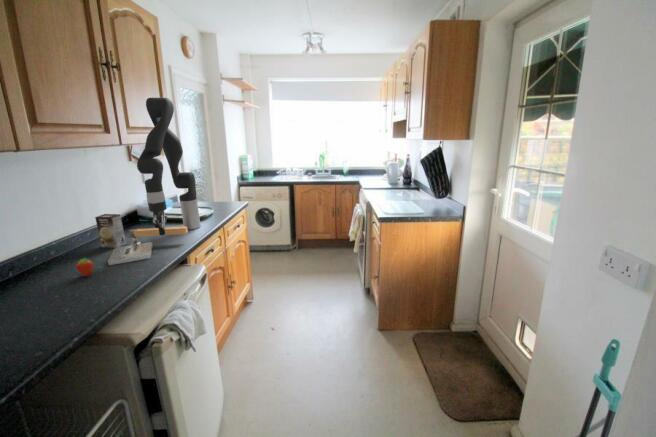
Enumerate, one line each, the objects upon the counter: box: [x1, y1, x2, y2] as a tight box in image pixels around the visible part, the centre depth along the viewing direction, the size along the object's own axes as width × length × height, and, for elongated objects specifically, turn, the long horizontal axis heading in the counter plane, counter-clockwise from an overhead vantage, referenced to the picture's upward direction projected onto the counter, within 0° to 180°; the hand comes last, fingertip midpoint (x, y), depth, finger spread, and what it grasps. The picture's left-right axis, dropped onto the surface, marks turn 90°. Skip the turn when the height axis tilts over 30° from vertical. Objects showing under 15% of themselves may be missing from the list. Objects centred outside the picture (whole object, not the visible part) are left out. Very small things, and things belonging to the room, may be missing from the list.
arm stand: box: [129, 237, 142, 246], centre depth 158 cm, size 5×5×4 cm
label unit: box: [107, 242, 154, 266], centre depth 145 cm, size 18×16×2 cm
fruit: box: [76, 257, 94, 277], centre depth 124 cm, size 5×5×8 cm
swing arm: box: [128, 226, 188, 238], centre depth 158 cm, size 28×4×3 cm, turn 97°
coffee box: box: [94, 213, 127, 248], centre depth 157 cm, size 9×6×16 cm
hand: (162, 234), depth 152 cm, fingers closed
